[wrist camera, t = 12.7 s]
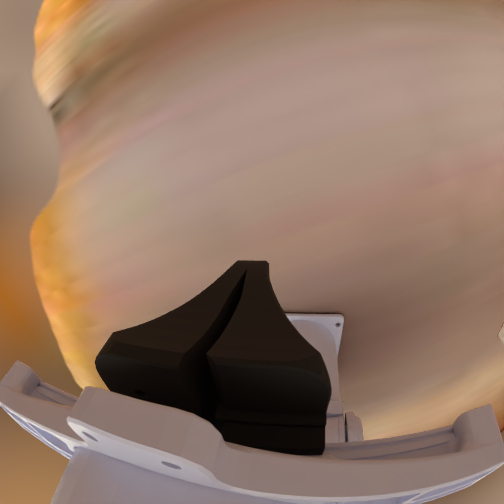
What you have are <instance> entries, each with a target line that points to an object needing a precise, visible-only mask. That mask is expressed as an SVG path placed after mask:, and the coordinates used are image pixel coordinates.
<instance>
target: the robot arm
mask: <svg viewBox="0 0 504 504" xmlns="http://www.w3.org/2000/svg"><path fill="white" fill-rule="evenodd" d="M336 323H340V324H338V325H337V324H336ZM343 323H344V317H343V315H341V314H287V313H284V311H283V309H282V308H281V306H280V304H279V302H278V300H277V298H276V295H275V293H274V291H273V288H272V285H271V282H270V278H269V263H268V262H267V261H237V262H236V263H234V264H233V265H232V266H231V267H230V268H229V269H228V270H227V271H226V272H225V273H224V274H223V275H222V276H220V277H219V278H218V279H217V280H216V281H215V282H214V283H212V284H211V285H210V286H209V287H207V288H206V289H205V290H204V291H202V292H201V293H200V294H198V295H197V296H196V297H194V298H193V299H191V300H190V301H188V302H187V303H185V304H183V305H182V306H180V307H178V308H176V309H174V310H172V311H170V312H168V313H167V314H165V315H163V316H160V317H158V318H156V319H154V320H151V321H149V322H146V323H143V324H141V325H138V326H135V327H131V328H128V329H124V330H121V331H117V332H113V333H112V335H111V336H110V338H109V339H108V340H107V342H106V343H105V345H104V346H103V348H102V349H101V351H100V352H99V354H98V355H97V357H96V360H95V365H96V369H97V371H98V373H99V375H100V377H101V378H102V380H103V381H104V383H105V384H106V386H107V387H108V388H109V390H110V391H108V390H105V389H102V388H98V387H91V386H88V387H85V389H84V390H83V391H82V393H81V395H80V396H79V398H78V397H75V396H73V395H71V394H69V393H66V392H64V391H62V390H59V389H58V388H55V387H53V386H51V385H49V384H47V383H45V382H43V381H41V380H40V378H39V376H38V375H37V374H36V373H35V371H34V370H33V369H32V368H30V367H29V366H27V365H25V364H23V363H22V362H20V361H16V362H15V364H14V365H13V366H12V368H11V369H10V370H9V371H8V373H7V374H6V376H5V377H4V378H3V380H2V381H1V382H0V406H1V407H2V408H3V409H4V410H5V411H6V412H7V413H8V414H9V415H10V416H11V417H12V418H13V419H14V420H15V421H16V422H18V424H19V425H21V426H22V427H23V428H24V429H25V430H27V431H28V432H29V433H31V434H32V435H34V436H35V437H36V438H38V439H39V440H41V441H42V442H44V443H45V444H47V445H48V446H49V447H51V448H52V449H54V450H56V451H57V452H59V453H60V454H62V455H63V456H65V457H67V458H68V459H70V461H69V463H68V465H67V468H66V470H65V472H64V474H63V476H62V478H61V480H60V482H59V485H58V487H57V489H56V491H55V494H54V496H53V498H52V500H51V503H50V504H421V503H424V502H427V501H431V500H434V499H437V498H440V497H443V496H445V495H448V494H451V493H454V492H456V491H459V490H461V489H464V488H466V487H469V486H470V485H472V484H474V483H475V482H477V481H479V480H480V479H482V478H483V477H485V476H487V475H488V474H490V473H491V472H493V471H494V470H496V469H497V468H498V467H500V466H501V465H503V464H504V443H503V440H502V436H501V433H500V430H499V426H498V423H497V420H496V417H495V414H494V411H493V408H492V406H491V404H488V405H485V406H482V407H479V408H475V409H472V410H469V411H467V412H465V413H463V414H461V415H460V416H459V417H458V418H457V419H456V420H455V422H454V423H453V425H449V426H446V427H442V428H438V429H433V430H429V431H424V432H419V433H414V434H409V435H403V436H397V437H390V438H383V439H375V440H366V441H364V438H363V429H362V423H361V420H360V418H358V417H357V416H356V415H355V414H354V413H353V412H348V413H345V425H344V416H343V401H341V400H340V386H339V374H338V363H337V357H338V352H339V347H340V341H341V335H342V330H343Z"/></svg>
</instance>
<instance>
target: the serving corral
mask: <svg viewBox="0 0 504 504" xmlns="http://www.w3.org/2000/svg"><path fill="white" fill-rule="evenodd" d="M498 336H499V338H500V339H501V341H502V342H503V344H504V324H503V326H502V328H501V330H500V332H499V334H498Z"/></svg>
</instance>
